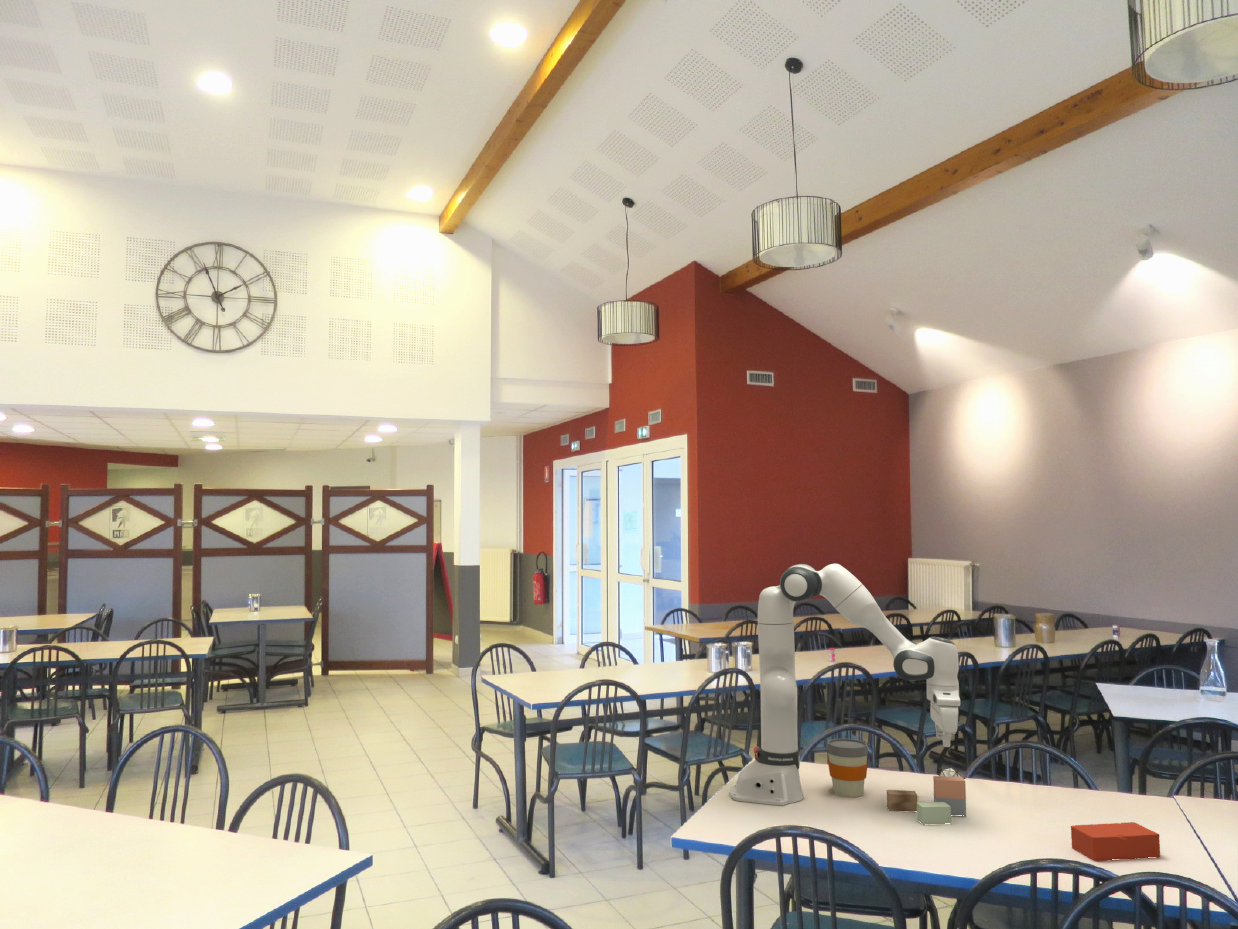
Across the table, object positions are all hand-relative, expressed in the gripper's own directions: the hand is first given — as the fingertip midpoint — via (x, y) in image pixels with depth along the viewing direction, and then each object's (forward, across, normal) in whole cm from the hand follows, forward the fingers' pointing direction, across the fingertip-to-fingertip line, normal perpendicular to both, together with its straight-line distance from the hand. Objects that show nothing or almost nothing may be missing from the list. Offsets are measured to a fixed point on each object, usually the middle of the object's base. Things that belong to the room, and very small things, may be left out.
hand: (943, 742), depth 249 cm
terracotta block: (+15, 0, +2) cm, 15 cm away
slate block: (+20, 0, +2) cm, 20 cm away
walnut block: (+20, -2, -11) cm, 23 cm away
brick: (+20, +25, +37) cm, 48 cm away
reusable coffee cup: (+21, -15, -25) cm, 36 cm away
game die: (+20, -18, +6) cm, 28 cm away
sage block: (+20, +8, -4) cm, 22 cm away
